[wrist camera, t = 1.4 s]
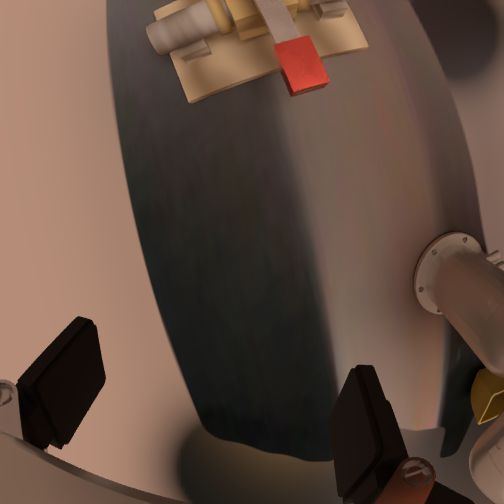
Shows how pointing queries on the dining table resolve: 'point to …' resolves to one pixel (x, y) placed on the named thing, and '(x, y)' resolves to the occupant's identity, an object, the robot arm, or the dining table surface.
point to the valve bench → (257, 51)
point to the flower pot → (487, 395)
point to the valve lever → (292, 50)
